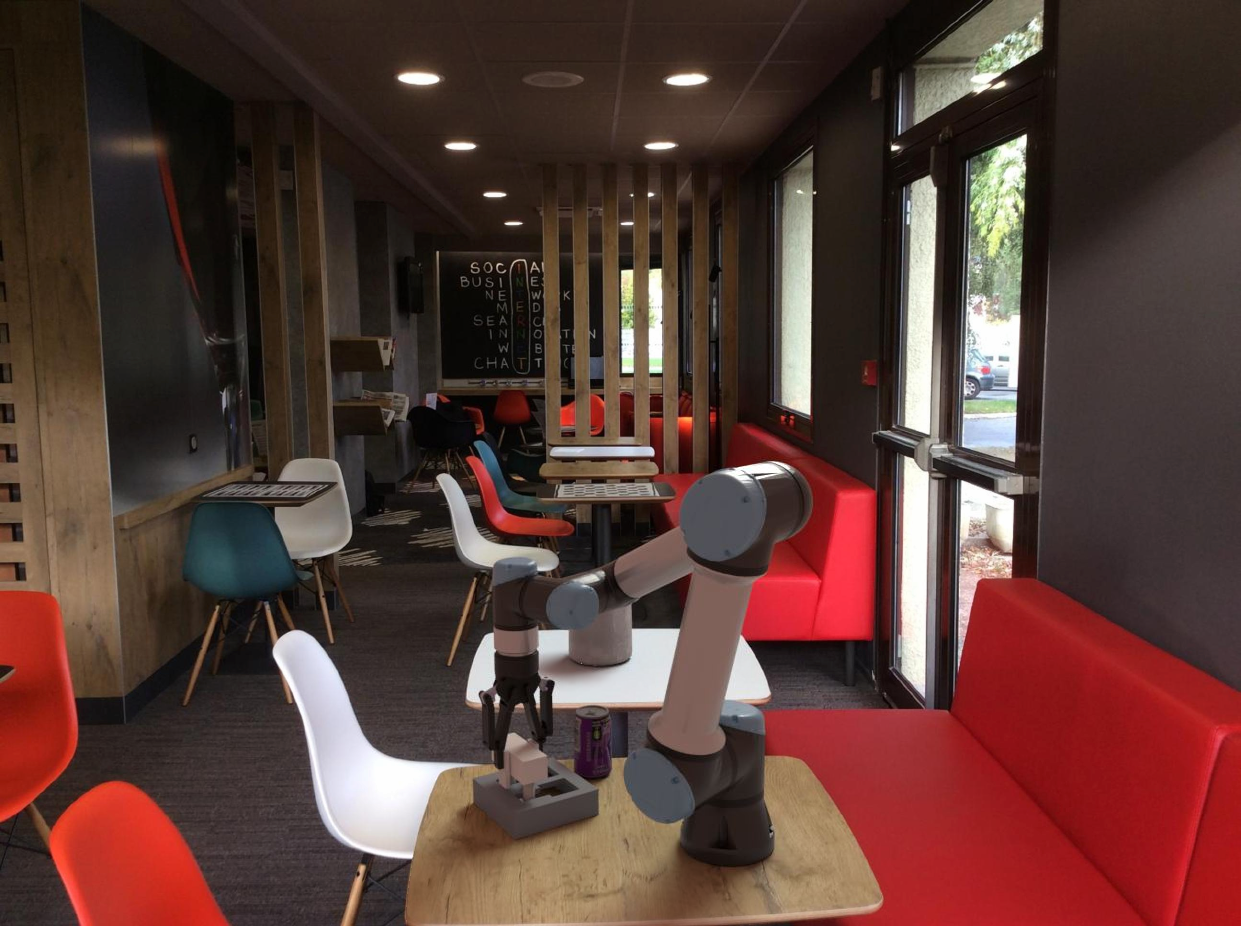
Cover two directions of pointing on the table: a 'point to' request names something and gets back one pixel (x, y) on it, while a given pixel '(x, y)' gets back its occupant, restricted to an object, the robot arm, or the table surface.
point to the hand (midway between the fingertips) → (519, 781)
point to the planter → (604, 639)
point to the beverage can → (592, 741)
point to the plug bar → (525, 764)
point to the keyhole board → (536, 801)
